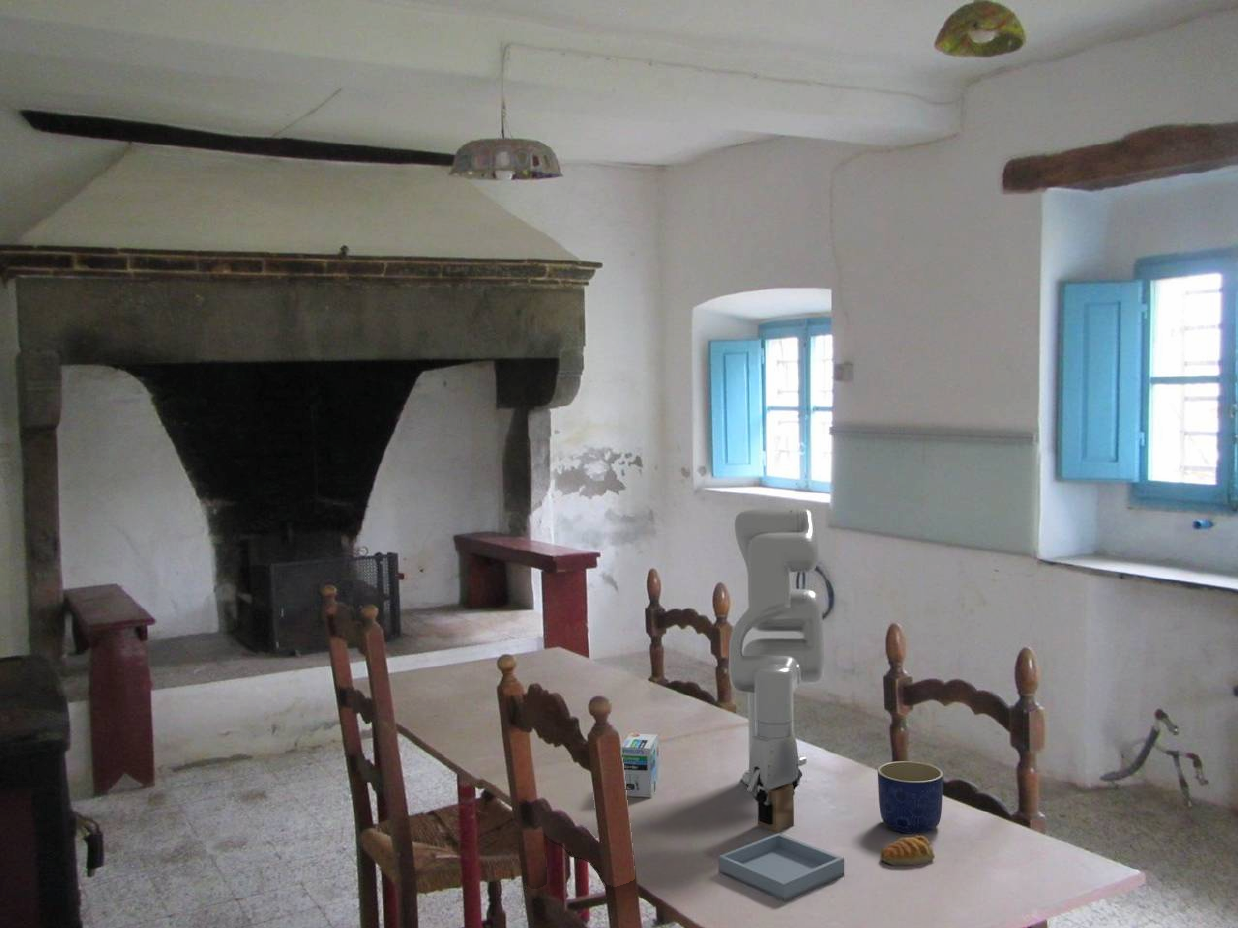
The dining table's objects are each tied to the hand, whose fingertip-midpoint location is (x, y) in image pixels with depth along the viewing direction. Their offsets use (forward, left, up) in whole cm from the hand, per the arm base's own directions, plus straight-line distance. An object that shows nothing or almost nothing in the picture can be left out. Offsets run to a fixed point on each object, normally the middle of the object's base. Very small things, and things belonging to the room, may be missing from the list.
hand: (775, 817), depth 219 cm
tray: (+16, +16, -1) cm, 23 cm away
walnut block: (0, 0, -2) cm, 2 cm away
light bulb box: (+6, -34, -2) cm, 35 cm away
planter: (-19, +18, -2) cm, 26 cm away
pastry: (-6, +27, -2) cm, 28 cm away
